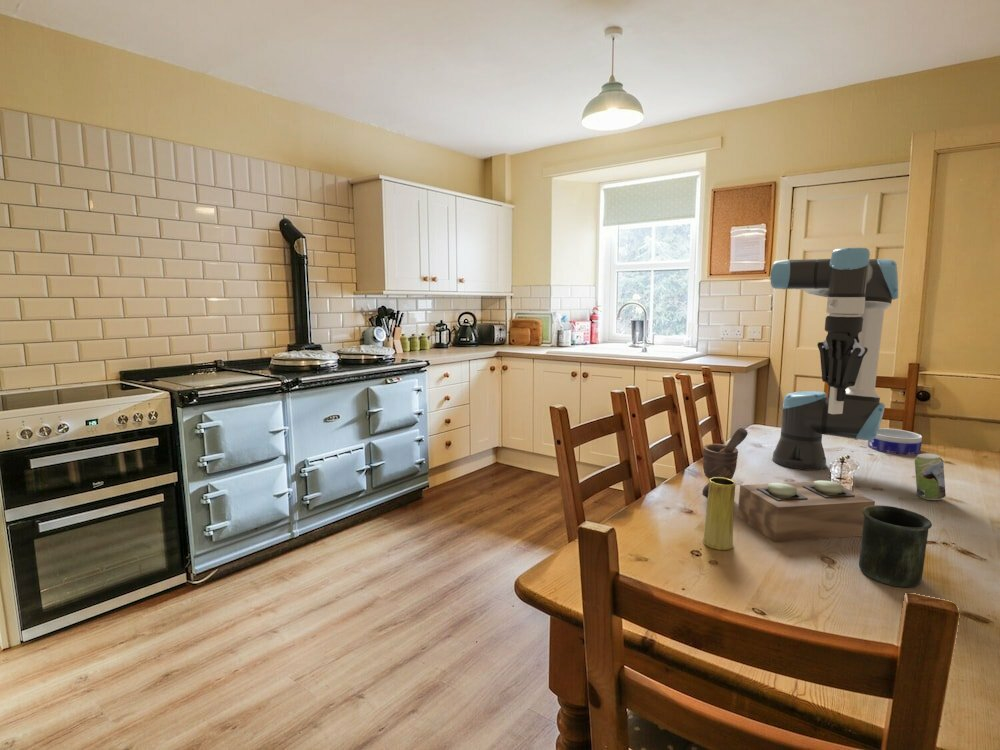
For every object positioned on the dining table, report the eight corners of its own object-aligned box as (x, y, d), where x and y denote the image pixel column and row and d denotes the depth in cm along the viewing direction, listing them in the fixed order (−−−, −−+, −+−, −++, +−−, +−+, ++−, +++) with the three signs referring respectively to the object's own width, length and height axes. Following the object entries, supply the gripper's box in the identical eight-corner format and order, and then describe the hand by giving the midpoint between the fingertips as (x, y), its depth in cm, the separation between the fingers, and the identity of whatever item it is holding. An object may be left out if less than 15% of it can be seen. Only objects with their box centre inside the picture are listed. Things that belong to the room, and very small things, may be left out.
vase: (730, 553, 115) (735, 487, 113) (699, 546, 118) (704, 482, 116) (735, 542, 120) (739, 479, 118) (706, 535, 123) (710, 474, 121)
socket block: (737, 516, 134) (740, 484, 133) (825, 511, 138) (828, 479, 137) (775, 542, 120) (778, 505, 119) (871, 535, 124) (875, 500, 123)
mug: (854, 578, 105) (860, 518, 103) (858, 550, 117) (864, 496, 115) (925, 596, 99) (933, 533, 97) (922, 564, 111) (929, 508, 109)
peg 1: (759, 515, 130) (762, 483, 129) (782, 514, 131) (785, 482, 130) (776, 526, 124) (779, 492, 123) (799, 524, 125) (803, 491, 124)
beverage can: (950, 503, 143) (955, 459, 142) (918, 501, 145) (923, 457, 143) (936, 495, 150) (941, 452, 148) (905, 492, 151) (911, 450, 149)
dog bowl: (857, 444, 201) (858, 428, 200) (895, 443, 203) (897, 427, 202) (890, 456, 186) (892, 439, 185) (931, 455, 188) (934, 438, 187)
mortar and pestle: (751, 498, 146) (756, 424, 144) (738, 506, 140) (744, 430, 137) (708, 487, 154) (713, 417, 151) (695, 495, 148) (699, 422, 145)
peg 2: (805, 512, 132) (808, 481, 131) (827, 511, 133) (830, 479, 132) (823, 523, 126) (826, 489, 125) (846, 521, 127) (849, 488, 126)
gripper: (810, 314, 135) (802, 408, 139) (852, 317, 122) (842, 420, 126) (837, 313, 136) (828, 406, 140) (881, 316, 123) (870, 419, 127)
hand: (835, 413), depth 133 cm, fingers closed
